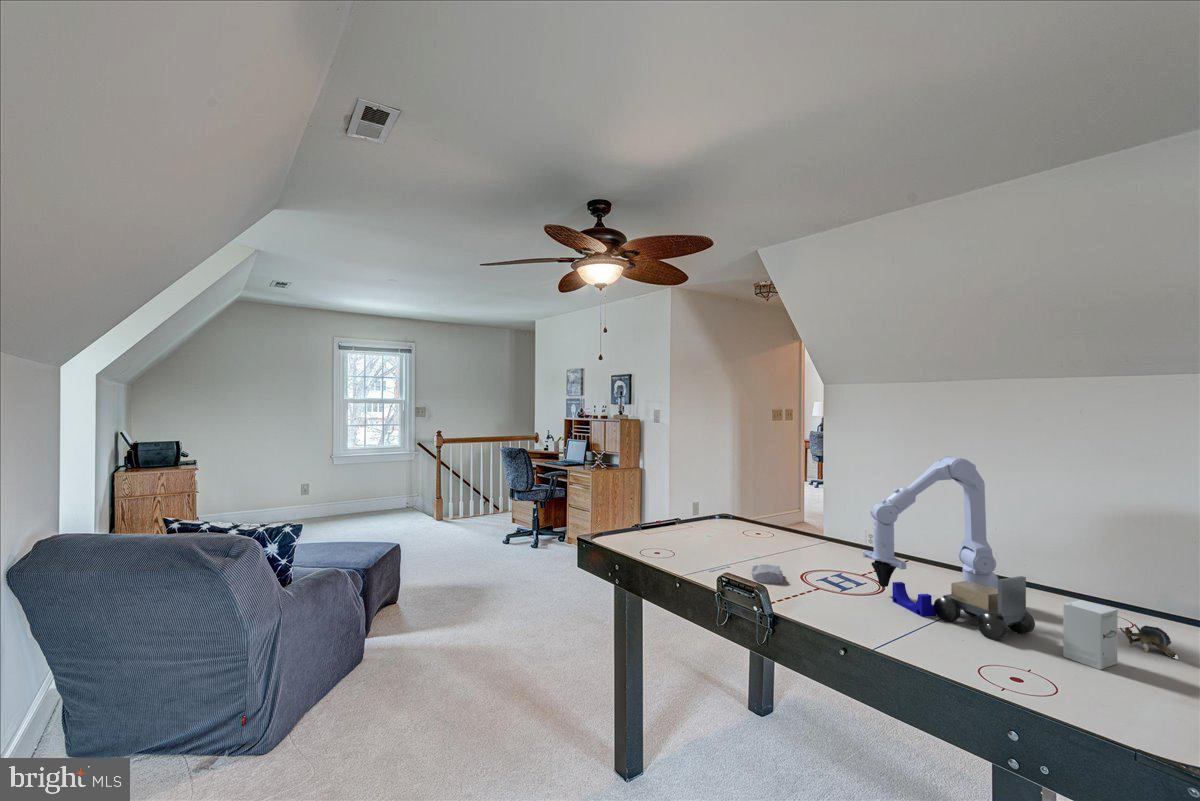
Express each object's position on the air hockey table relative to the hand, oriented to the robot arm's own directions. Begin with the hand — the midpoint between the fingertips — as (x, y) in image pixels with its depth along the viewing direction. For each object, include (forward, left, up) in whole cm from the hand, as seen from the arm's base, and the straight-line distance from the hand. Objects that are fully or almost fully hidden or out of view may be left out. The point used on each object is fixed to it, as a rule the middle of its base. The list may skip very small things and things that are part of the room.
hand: (883, 586), depth 167 cm
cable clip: (+1, +12, -3) cm, 12 cm away
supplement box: (-9, +49, -3) cm, 50 cm away
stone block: (+25, -26, -3) cm, 36 cm away
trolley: (-5, +27, -3) cm, 28 cm away
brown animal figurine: (-29, +51, -3) cm, 59 cm away
